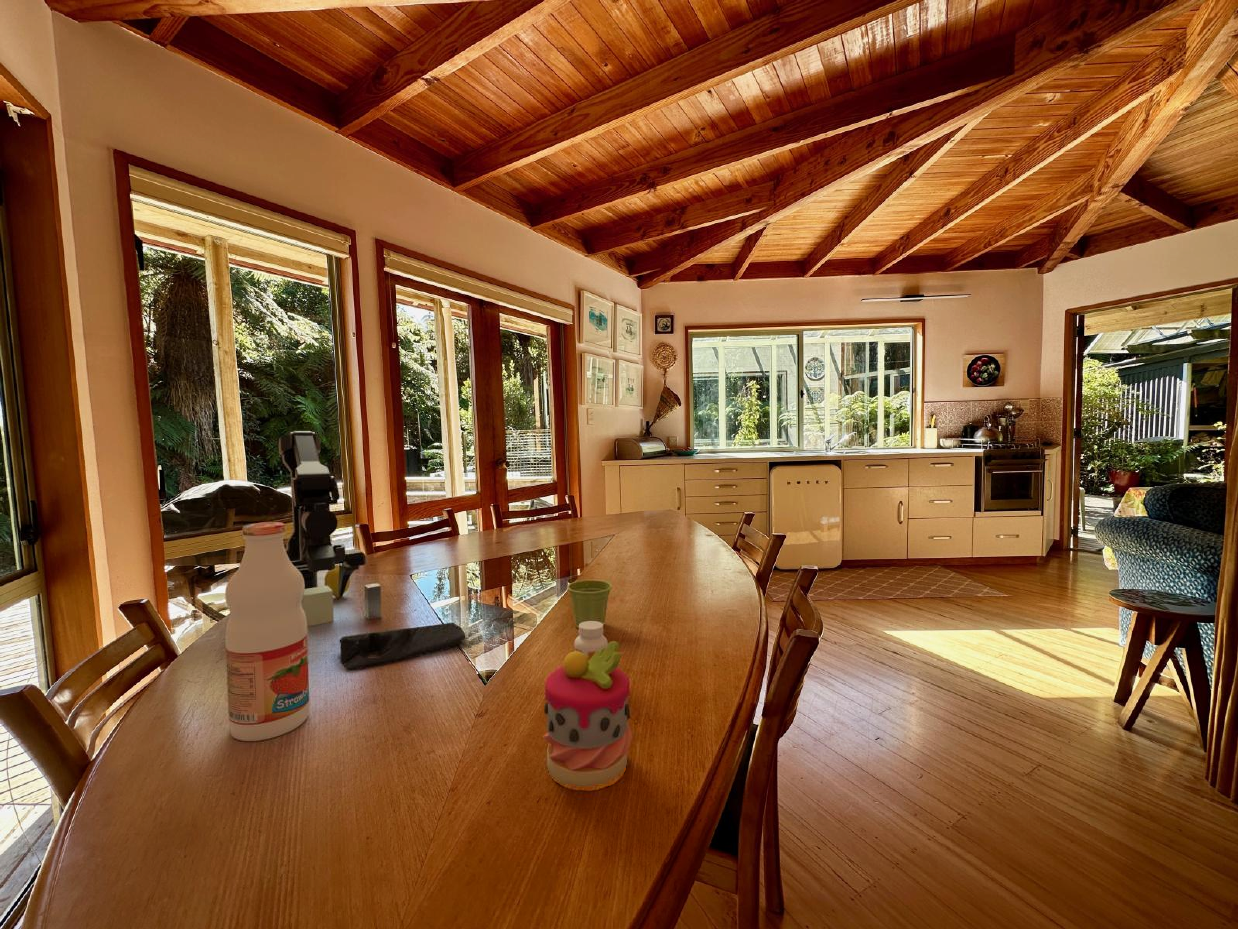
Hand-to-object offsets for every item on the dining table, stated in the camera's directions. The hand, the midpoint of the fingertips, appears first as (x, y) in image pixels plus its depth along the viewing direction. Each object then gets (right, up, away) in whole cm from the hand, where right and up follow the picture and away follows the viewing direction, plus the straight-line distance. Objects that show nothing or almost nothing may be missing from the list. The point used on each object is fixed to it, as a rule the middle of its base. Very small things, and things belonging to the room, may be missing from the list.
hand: (316, 602), depth 115 cm
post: (+11, -4, +3) cm, 12 cm away
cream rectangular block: (0, -4, 0) cm, 4 cm away
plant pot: (+59, -5, -2) cm, 59 cm away
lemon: (-4, -3, +16) cm, 17 cm away
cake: (+61, -8, -49) cm, 79 cm away
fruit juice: (+17, -7, -41) cm, 44 cm away
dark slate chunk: (+24, -6, -13) cm, 28 cm away
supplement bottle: (+60, -6, -28) cm, 67 cm away
